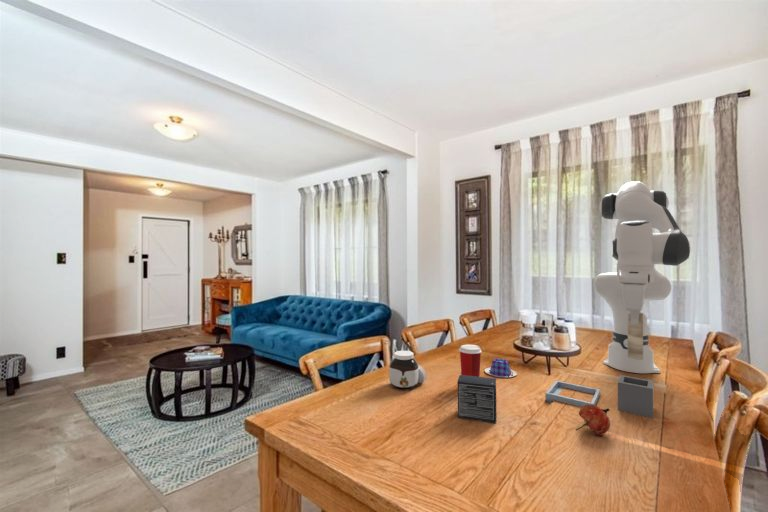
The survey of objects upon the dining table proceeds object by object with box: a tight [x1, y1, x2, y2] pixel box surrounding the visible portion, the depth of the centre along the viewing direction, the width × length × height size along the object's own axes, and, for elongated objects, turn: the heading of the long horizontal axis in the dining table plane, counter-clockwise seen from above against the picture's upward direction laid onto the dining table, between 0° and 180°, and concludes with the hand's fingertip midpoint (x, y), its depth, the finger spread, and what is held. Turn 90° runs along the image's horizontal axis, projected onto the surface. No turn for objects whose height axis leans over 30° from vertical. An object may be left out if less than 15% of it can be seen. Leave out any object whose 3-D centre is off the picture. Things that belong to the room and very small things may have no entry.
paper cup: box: [458, 344, 482, 377], centre depth 119 cm, size 8×8×14 cm
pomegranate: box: [575, 404, 611, 436], centre depth 88 cm, size 7×7×10 cm
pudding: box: [484, 358, 518, 378], centre depth 133 cm, size 12×12×5 cm
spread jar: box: [388, 350, 427, 391], centre depth 121 cm, size 12×11×12 cm
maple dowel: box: [628, 312, 643, 360], centre depth 99 cm, size 4×4×13 cm
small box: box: [456, 374, 498, 424], centre depth 97 cm, size 11×6×10 cm, turn 71°
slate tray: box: [545, 380, 601, 408], centre depth 108 cm, size 14×13×2 cm
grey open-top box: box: [617, 374, 655, 419], centre depth 99 cm, size 8×8×9 cm
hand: (635, 323), depth 99 cm, fingers closed on maple dowel, 4 cm apart
